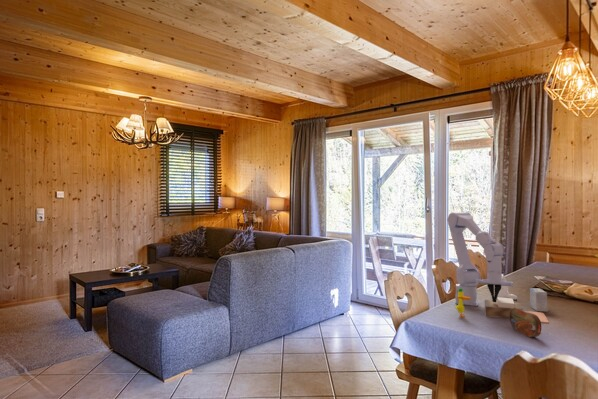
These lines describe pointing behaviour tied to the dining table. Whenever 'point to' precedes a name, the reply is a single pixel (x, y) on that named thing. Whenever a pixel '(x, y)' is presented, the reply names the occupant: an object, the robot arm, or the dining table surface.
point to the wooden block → (498, 309)
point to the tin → (525, 322)
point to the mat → (540, 316)
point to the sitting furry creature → (505, 291)
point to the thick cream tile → (505, 302)
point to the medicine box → (538, 299)
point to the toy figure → (461, 302)
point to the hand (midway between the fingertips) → (494, 301)
